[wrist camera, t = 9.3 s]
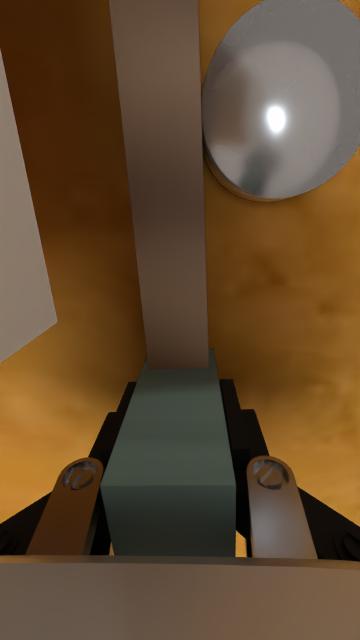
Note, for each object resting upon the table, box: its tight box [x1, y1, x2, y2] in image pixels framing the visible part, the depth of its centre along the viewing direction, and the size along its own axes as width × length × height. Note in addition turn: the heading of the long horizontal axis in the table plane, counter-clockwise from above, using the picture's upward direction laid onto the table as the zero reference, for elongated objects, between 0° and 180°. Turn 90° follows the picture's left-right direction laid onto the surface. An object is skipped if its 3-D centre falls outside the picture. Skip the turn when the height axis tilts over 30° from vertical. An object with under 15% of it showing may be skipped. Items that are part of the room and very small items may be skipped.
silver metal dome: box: [201, 0, 360, 202], centre depth 9 cm, size 5×5×2 cm
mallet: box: [100, 0, 236, 557], centre depth 8 cm, size 19×3×7 cm, turn 3°
